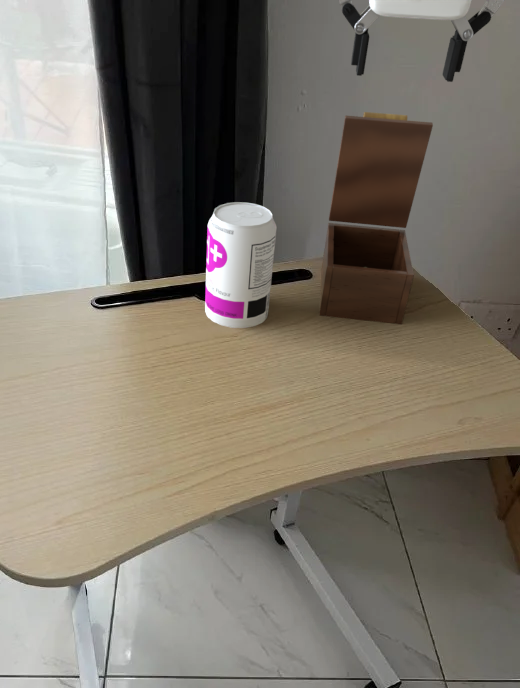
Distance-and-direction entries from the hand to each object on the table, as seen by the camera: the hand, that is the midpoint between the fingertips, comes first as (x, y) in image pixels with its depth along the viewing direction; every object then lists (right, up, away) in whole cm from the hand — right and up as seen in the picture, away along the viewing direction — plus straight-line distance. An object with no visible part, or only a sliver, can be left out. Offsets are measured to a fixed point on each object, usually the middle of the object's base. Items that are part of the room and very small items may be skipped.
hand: (403, 76), depth 73 cm
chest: (-1, -23, +19) cm, 30 cm away
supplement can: (-18, -26, +14) cm, 35 cm away
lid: (0, -7, +12) cm, 14 cm away
